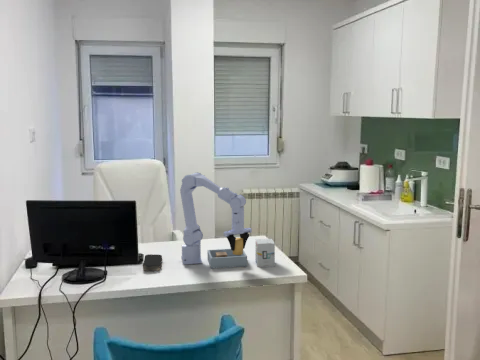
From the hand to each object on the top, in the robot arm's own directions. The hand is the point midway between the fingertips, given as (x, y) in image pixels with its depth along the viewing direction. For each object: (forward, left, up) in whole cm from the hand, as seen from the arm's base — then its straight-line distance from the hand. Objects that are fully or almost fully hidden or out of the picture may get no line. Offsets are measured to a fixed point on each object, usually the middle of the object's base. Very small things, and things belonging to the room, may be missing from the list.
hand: (237, 249), depth 231 cm
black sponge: (-40, +11, -10) cm, 42 cm away
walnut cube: (-7, +6, -9) cm, 13 cm away
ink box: (+14, +4, -10) cm, 17 cm away
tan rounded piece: (0, 0, -2) cm, 2 cm away
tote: (-4, +9, -9) cm, 13 cm away
